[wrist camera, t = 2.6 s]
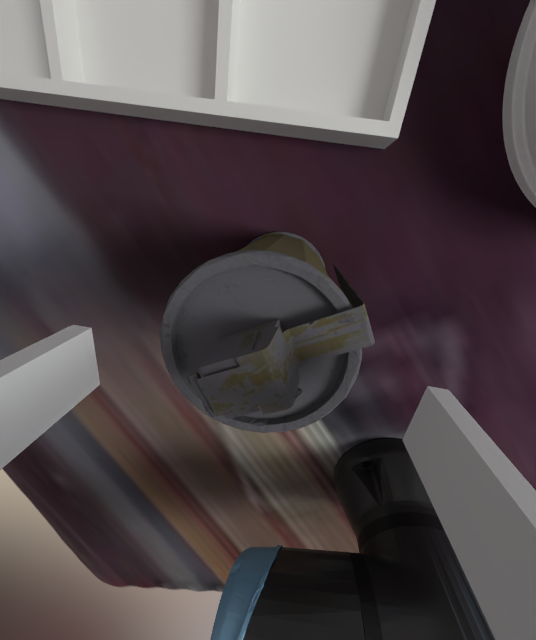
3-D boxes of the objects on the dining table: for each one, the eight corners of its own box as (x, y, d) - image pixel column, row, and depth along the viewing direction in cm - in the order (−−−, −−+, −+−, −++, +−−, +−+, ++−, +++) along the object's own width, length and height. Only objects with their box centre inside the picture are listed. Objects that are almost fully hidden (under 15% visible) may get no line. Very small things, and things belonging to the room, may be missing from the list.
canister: (255, 332, 32) (196, 490, 13) (219, 252, 29) (78, 314, 10) (341, 305, 29) (414, 452, 11) (313, 214, 26) (350, 204, 8)
